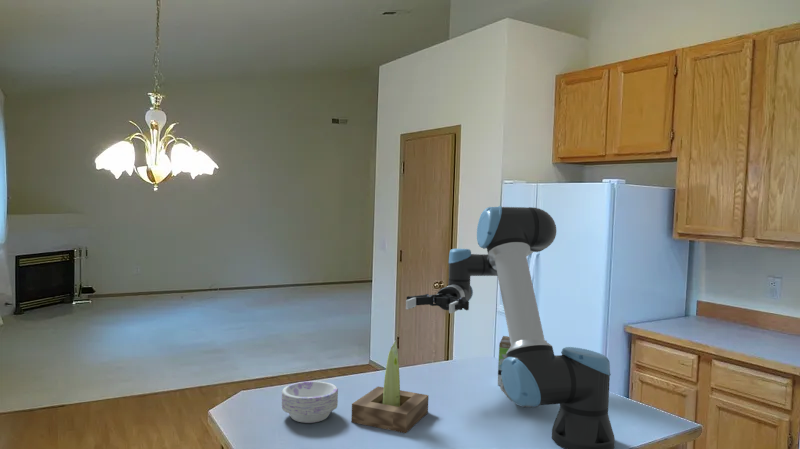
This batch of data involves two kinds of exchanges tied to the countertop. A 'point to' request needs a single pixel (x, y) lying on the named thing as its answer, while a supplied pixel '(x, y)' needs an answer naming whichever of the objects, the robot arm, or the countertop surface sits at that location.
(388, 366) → the tube
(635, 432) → the countertop surface
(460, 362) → the countertop surface
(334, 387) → the paper bowls
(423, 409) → the socket block
